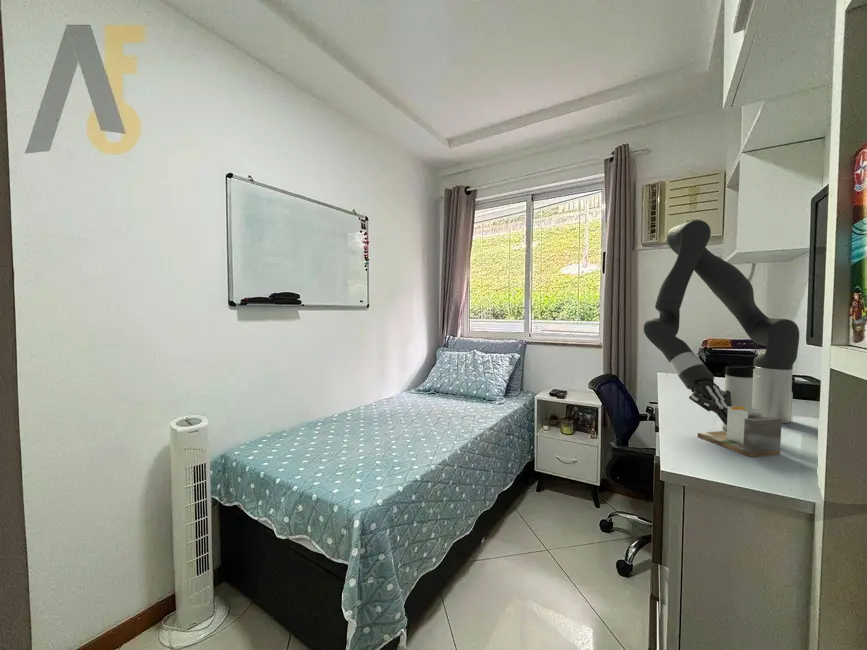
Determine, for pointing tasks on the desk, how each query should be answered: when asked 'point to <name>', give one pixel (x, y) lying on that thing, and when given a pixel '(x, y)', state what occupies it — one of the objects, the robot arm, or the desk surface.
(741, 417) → the white card box
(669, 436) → the desk surface
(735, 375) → the travel mug
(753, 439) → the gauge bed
